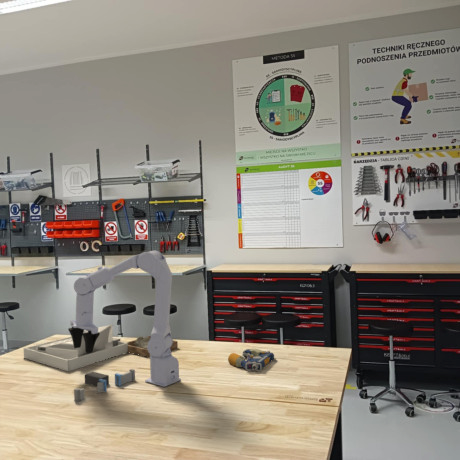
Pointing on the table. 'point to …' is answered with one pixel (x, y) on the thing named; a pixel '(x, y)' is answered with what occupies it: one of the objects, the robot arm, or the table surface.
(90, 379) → the charcoal brick
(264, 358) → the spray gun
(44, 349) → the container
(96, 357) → the container tray
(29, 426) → the table surface
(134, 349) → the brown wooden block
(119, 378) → the blue capped pillar
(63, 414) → the table surface
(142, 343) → the rock sample
